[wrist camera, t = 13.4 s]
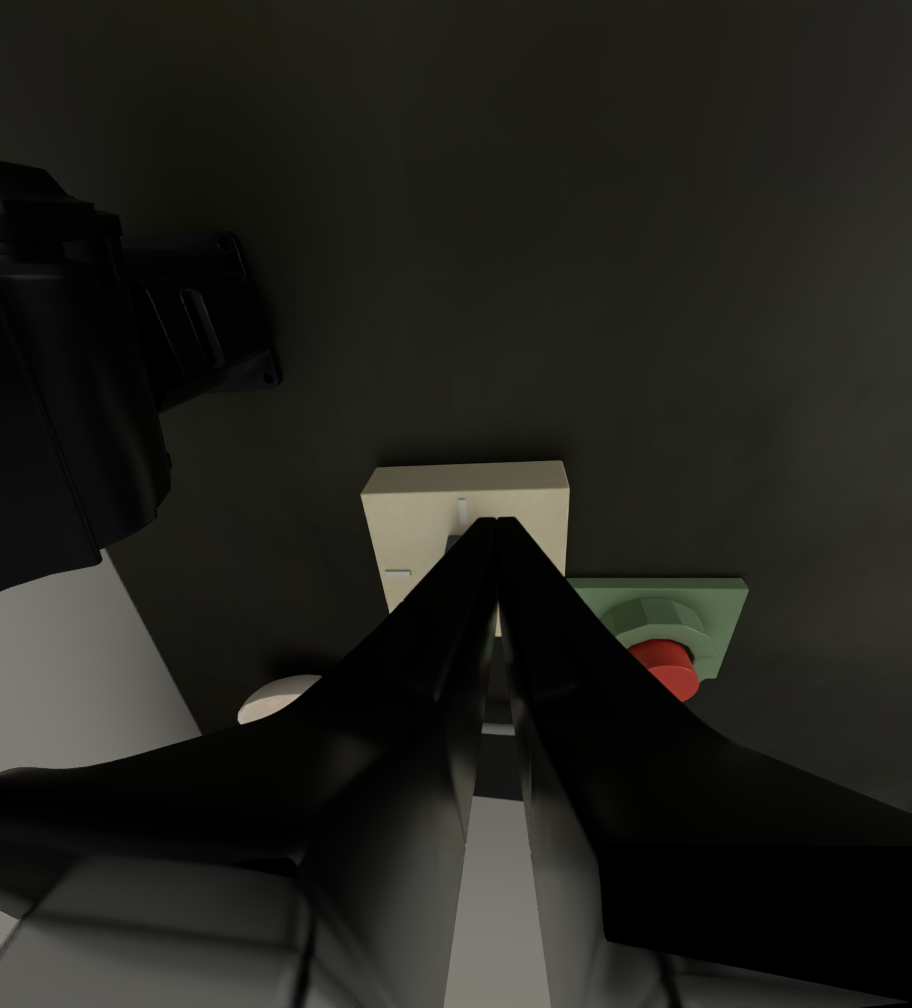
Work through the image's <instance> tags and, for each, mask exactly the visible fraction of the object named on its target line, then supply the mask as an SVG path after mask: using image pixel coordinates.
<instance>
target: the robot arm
mask: <svg viewBox="0 0 912 1008" xmlns="http://www.w3.org/2000/svg"><path fill="white" fill-rule="evenodd" d="M119 236H123V233H122V228H121V224H120V219H119V215H118V214H113V213H109V212H105V211H100V210H96V209H95V207H94V203H90V202H86V201H82V200H78V199H74V197H73V196H69V195H68V194H67V193H66V192H65V191H64V190H63V189H62V188H61V187H60V185H59V184H58V183H57V182H56V181H55V180H54V179H53V178H52V177H51V175H50V174H49V173H48V172H47V171H46V170H44V169H40V168H35V167H31V166H26V165H21V164H16V163H10V162H5V161H0V591H3V590H5V589H8V588H10V587H13V586H16V585H20V584H23V583H26V582H29V581H32V580H35V579H39V578H42V577H45V576H48V575H51V574H56V573H61V572H66V571H71V570H76V569H81V568H86V567H91V566H95V565H98V564H99V563H101V562H102V556H101V554H100V551H99V550H101V549H103V548H105V547H107V546H109V545H111V544H113V543H115V542H117V541H119V540H122V539H124V538H126V537H128V536H130V535H133V534H135V533H136V532H138V531H139V530H141V529H142V528H143V527H145V526H146V525H148V524H149V523H151V522H152V521H153V520H155V519H156V517H157V511H156V508H157V507H158V506H159V505H160V504H161V503H162V501H163V500H164V498H165V497H166V496H167V494H168V493H169V491H170V490H171V474H170V469H171V468H172V463H171V458H170V454H169V453H166V449H165V444H164V440H163V435H162V430H161V426H160V421H159V417H158V414H160V413H162V412H164V411H166V410H169V409H171V408H173V407H175V406H177V405H179V404H181V403H184V402H186V401H188V400H190V399H192V398H194V397H196V396H199V395H201V394H203V393H212V392H227V391H242V390H257V389H271V388H275V387H276V386H278V385H279V384H280V383H281V380H282V378H281V373H280V370H279V367H278V363H277V360H276V357H275V354H274V350H273V347H272V346H273V344H274V342H273V338H272V335H271V332H270V329H269V325H268V322H267V319H266V315H265V312H264V309H263V306H262V302H261V299H260V296H259V293H258V289H257V286H256V285H255V284H254V283H253V282H252V279H251V276H250V272H249V269H248V266H247V263H246V259H245V256H244V253H243V250H242V246H241V243H240V241H239V239H238V238H237V236H236V235H235V234H233V233H232V232H230V231H222V230H218V231H211V232H203V233H195V234H187V235H179V236H171V237H163V238H155V239H148V240H140V241H132V242H124V243H121V242H120V237H119ZM225 239H227V240H228V241H229V243H230V250H229V251H228V250H227V249H226V248H225V246H224V240H225ZM267 373H269V374H270V375H271V376H272V377H273V381H270V380H269V379H268V377H267ZM498 607H499V620H500V628H501V636H502V643H503V651H504V658H505V666H506V673H507V681H508V688H509V696H510V703H511V710H512V718H513V725H514V733H515V740H516V748H517V755H518V763H519V770H520V778H521V785H522V793H523V800H524V807H525V815H526V823H527V830H528V838H529V845H530V850H531V859H532V867H533V875H534V883H535V890H536V898H537V905H538V912H539V920H540V928H541V935H542V943H543V950H544V958H545V965H546V972H547V980H548V987H549V994H550V1002H551V1008H912V814H911V813H908V812H906V811H903V810H900V809H898V808H895V807H893V806H890V805H888V804H885V803H883V802H880V801H878V800H876V799H873V798H871V797H868V796H866V795H863V794H861V793H858V792H856V791H853V790H851V789H848V788H846V787H843V786H841V785H838V784H836V783H833V782H831V781H829V780H826V779H824V778H821V777H819V776H816V775H814V774H811V773H809V772H806V771H804V770H801V769H799V768H796V767H794V766H791V765H789V764H786V763H784V762H782V761H779V760H777V759H774V758H772V757H769V756H767V755H764V754H762V753H759V752H757V751H754V750H752V749H749V748H747V747H744V746H742V745H740V744H738V743H735V742H733V741H731V740H730V739H728V738H726V737H724V736H723V735H721V734H720V733H718V732H717V731H715V730H714V729H712V728H711V727H710V726H708V725H707V724H706V723H705V722H703V721H702V720H701V719H699V718H698V717H697V716H696V715H695V714H694V713H693V712H692V711H691V710H689V709H688V708H687V707H686V706H685V705H684V704H683V703H682V702H681V701H680V700H679V699H678V698H677V697H676V696H675V695H674V694H673V693H672V692H671V691H670V690H669V689H668V688H667V687H666V686H664V685H663V684H662V683H661V682H660V681H659V680H658V679H657V678H656V677H655V676H654V675H653V674H652V673H651V672H650V671H649V670H648V669H647V668H646V667H645V666H644V665H643V664H642V663H641V662H640V661H638V660H637V659H636V658H635V657H634V656H633V655H632V654H631V653H630V652H629V651H628V650H627V649H626V648H625V647H624V646H623V645H622V644H621V643H620V642H619V641H618V640H617V639H616V638H615V637H614V635H613V634H612V633H611V632H610V631H609V630H608V629H607V628H606V627H605V625H604V624H603V623H602V622H601V621H600V620H599V619H598V617H597V616H596V615H595V614H594V613H593V611H592V610H591V609H590V608H589V606H588V605H587V604H586V603H584V600H583V599H582V598H581V597H580V595H579V594H578V593H577V592H576V591H575V589H574V588H573V587H572V586H571V584H570V583H569V582H568V581H567V579H566V578H565V577H564V576H563V575H562V573H561V572H560V571H559V570H558V568H557V567H556V566H555V565H554V564H553V562H552V561H551V560H550V559H549V557H548V556H547V555H546V554H545V552H544V551H543V550H542V549H541V548H540V546H539V545H538V544H537V543H536V541H535V540H534V539H533V538H532V536H531V535H530V534H529V533H528V532H527V530H526V529H525V528H524V527H523V525H522V524H521V523H520V522H519V521H518V519H517V518H516V517H514V516H510V517H498V518H497V519H496V518H495V517H479V518H477V519H476V520H475V521H474V523H473V524H472V525H471V526H470V527H469V528H468V529H467V530H466V531H465V532H464V534H463V535H462V536H461V537H460V538H459V539H458V540H457V541H456V542H455V543H454V544H453V546H452V547H451V548H450V549H449V550H448V551H447V552H446V553H445V554H444V555H443V557H442V558H441V559H440V560H439V561H438V562H437V563H436V564H435V565H434V566H433V567H432V569H431V570H430V571H429V572H428V573H427V574H426V575H425V576H424V577H423V578H422V579H421V581H420V582H419V583H418V584H417V585H416V586H415V587H414V588H413V589H412V590H411V592H410V593H409V594H408V595H407V596H406V597H405V598H404V599H403V601H402V602H400V603H399V604H398V606H397V607H396V608H395V609H394V610H393V611H392V612H391V613H390V614H389V615H388V616H387V617H386V618H385V619H384V620H383V621H382V622H381V623H380V624H379V626H378V627H377V628H376V629H375V630H374V631H372V632H371V633H370V634H369V635H368V636H367V637H366V638H365V639H364V640H363V641H362V642H360V643H359V644H358V645H357V646H356V647H355V648H354V649H353V650H352V651H351V652H349V653H348V654H347V655H346V656H345V657H344V658H343V659H341V660H340V661H339V662H338V663H337V664H336V665H335V666H333V667H332V668H331V669H330V670H329V671H328V672H327V673H325V674H324V675H323V676H322V677H321V678H320V679H319V680H317V681H316V682H315V683H314V684H313V685H312V686H311V687H309V688H308V689H307V690H306V691H305V692H304V693H303V694H301V695H300V696H299V697H298V698H296V699H295V700H294V701H292V702H291V703H290V704H288V705H287V706H285V707H284V708H282V709H280V710H278V711H277V712H275V713H273V714H271V715H268V716H266V717H264V718H261V719H258V720H255V721H252V722H248V723H245V724H241V725H238V726H234V727H231V728H227V729H224V730H220V731H217V732H214V733H210V734H207V735H203V736H200V737H196V738H193V739H190V740H186V741H183V742H179V743H176V744H172V745H169V746H165V747H162V748H159V749H155V750H151V751H148V752H145V753H142V754H138V755H135V756H131V757H127V758H123V759H119V760H115V761H111V762H107V763H101V764H97V765H92V766H87V767H78V768H69V769H48V768H36V767H19V768H12V769H8V770H5V771H2V772H0V911H2V912H4V913H6V914H8V915H10V916H12V917H14V918H16V919H18V922H17V923H16V924H15V926H14V927H13V928H12V930H11V931H10V933H9V934H8V935H7V937H6V938H5V939H4V941H3V942H2V944H1V945H0V1008H443V1006H444V998H445V991H446V984H447V977H448V970H449V963H450V962H449V961H450V955H451V948H452V941H453V934H454V927H455V920H456V912H457V905H458V897H459V891H460V884H461V877H462V870H463V863H464V855H465V844H466V840H467V833H468V826H469V818H470V811H471V804H472V797H473V790H474V783H475V776H476V769H477V762H478V754H479V747H480V740H481V733H482V726H483V719H484V711H485V704H486V697H487V690H488V683H489V676H490V668H491V661H492V654H493V647H494V640H495V633H496V625H497V617H498Z"/></svg>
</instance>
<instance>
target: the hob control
mask: <svg viewBox="0 0 912 1008" xmlns="http://www.w3.org/2000/svg"><path fill="white" fill-rule="evenodd" d="M569 494H570V488H569V484H568V480H567V477H566V473H565V469H564V465H563V462H562V461H561V460H560V461H533V462H506V463H480V464H453V465H427V466H400V467H377V468H376V469H375V471H374V473H373V474H372V476H371V478H370V479H369V481H368V483H367V484H366V486H365V488H364V489H363V491H362V493H361V498H362V503H363V507H364V511H365V515H366V519H367V523H368V527H369V531H370V535H371V539H372V543H373V547H374V551H375V555H376V560H377V564H378V568H379V572H380V576H381V580H382V584H383V588H384V592H385V596H386V600H387V604H388V608H389V612H390V613H391V612H392V611H393V610H394V609H395V608H396V607H397V606H398V604H399V603H400V602H402V601H403V599H404V598H405V597H406V596H407V595H408V594H409V593H410V592H411V590H412V589H413V588H414V587H415V586H416V585H417V584H418V583H419V582H420V581H421V579H422V578H423V577H424V576H425V575H426V574H427V573H428V572H429V571H430V570H431V569H432V567H433V566H434V565H435V564H436V563H437V562H438V561H439V560H440V559H441V558H442V557H443V555H444V553H445V548H446V543H447V538H448V536H449V535H463V534H464V532H465V531H466V530H467V529H468V528H469V527H470V526H471V525H472V524H473V523H474V521H475V520H476V519H477V518H479V517H495V518H496V519H497V518H498V517H510V516H514V517H516V518H517V519H518V521H519V522H520V523H521V524H522V525H523V527H524V528H525V529H526V530H527V532H528V533H529V534H530V535H531V536H532V538H533V539H534V540H535V541H536V543H537V544H538V545H539V546H540V548H541V549H542V550H543V551H544V552H545V554H546V555H547V556H548V557H549V559H550V560H551V561H552V562H553V564H554V565H555V566H556V567H557V568H558V570H559V571H560V572H561V573H562V575H563V576H564V577H565V561H566V544H567V528H568V511H569ZM495 636H501V628H500V620H499V607H498V617H497V625H496V633H495Z"/></svg>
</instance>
